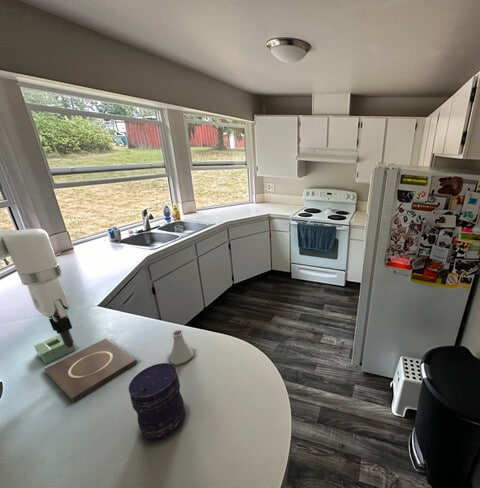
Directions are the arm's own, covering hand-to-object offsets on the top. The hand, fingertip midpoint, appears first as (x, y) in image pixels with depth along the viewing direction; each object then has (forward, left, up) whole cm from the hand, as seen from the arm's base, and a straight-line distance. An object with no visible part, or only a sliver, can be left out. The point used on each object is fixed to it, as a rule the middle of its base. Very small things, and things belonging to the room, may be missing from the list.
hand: (63, 328), depth 74 cm
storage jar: (+3, -40, -16) cm, 43 cm away
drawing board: (+2, -3, -15) cm, 16 cm away
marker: (0, 0, -7) cm, 7 cm away
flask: (+19, -23, -16) cm, 34 cm away
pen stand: (-1, +15, -15) cm, 21 cm away
